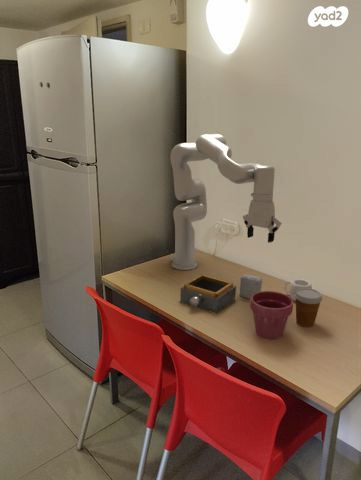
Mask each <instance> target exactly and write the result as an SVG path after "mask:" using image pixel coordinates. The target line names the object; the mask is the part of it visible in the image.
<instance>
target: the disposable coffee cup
mask: <svg viewBox="0 0 361 480" xmlns="http://www.w3.org/2000/svg"><path fill="white" fill-rule="evenodd" d="M295 298H296V301H295V321H296V324H297V325H298V326H300V327H303V328H312V327H314V325H315V323H316V318H317V317H318V316H317V315H318V312H319V308H320V305H321V302H322V301H323V297H322V293H321V292H320V291H319V290H317V289H313V288H312V289H310V288H301V289H298V290H297V291H296V293H295Z"/></svg>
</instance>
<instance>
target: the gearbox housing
mask: <svg viewBox="0 0 361 480" xmlns="http://www.w3.org/2000/svg"><path fill="white" fill-rule="evenodd" d="M236 293H237V285H234V283H233V282H230V281H227V280H223V279H220V278H216V277H213V276H210V275H209V276H208V275H205V274H200V275H197V276H196V277H194V278H193V279H191V280H189V281H187V282H186V283H184V284H183V286H182V287H180V295H179V296H180V301H179V302H181V303H184V304H186V305H190V306H191V308H199V309H201V310H204V311H206V312H207V311H208V312H209V313H210V312H211V313H213V314H216V315H217V314H219V313H220V312H221V311H222V310H224V309H225V308H227V307H228V306H230V304H233V302H234V301H235V300H236Z"/></svg>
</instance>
